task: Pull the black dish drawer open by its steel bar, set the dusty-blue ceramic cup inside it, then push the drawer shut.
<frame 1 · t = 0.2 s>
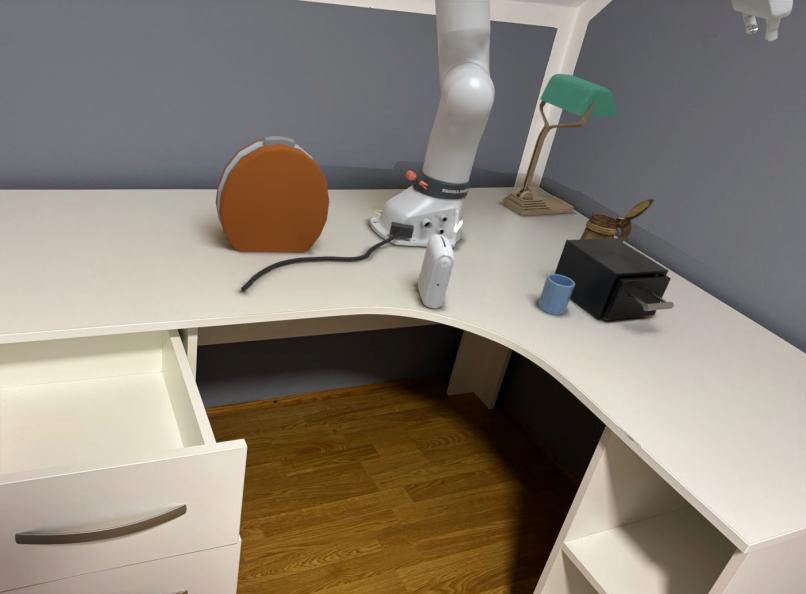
hand: (761, 36, 142), 54 cm above the table, tool tilted 30°, fingers open, 8 cm apart
cup: (551, 308, 144), on the table
photo printer: (428, 297, 140), on the table
wooden mug: (597, 263, 170), on the table
alarm clock: (267, 242, 149), on the table
banker's lamp: (538, 208, 199), on the table
drawer: (623, 288, 146), point 5 cm above the table, slide at 0.5 cm
dishwasher: (598, 298, 152), on the table
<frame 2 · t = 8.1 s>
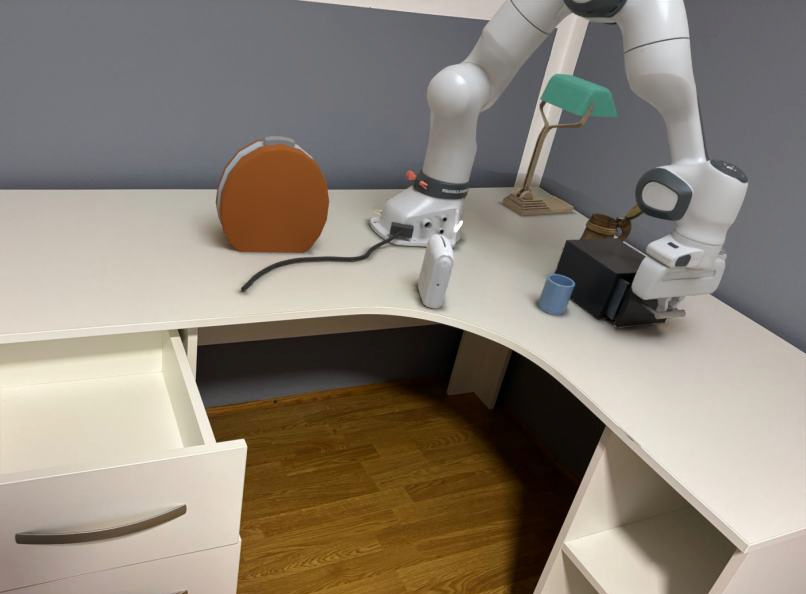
hand: (663, 313, 138), 6 cm above the table, tool pointing down, fingers closed, pressing on drawer
drawer: (634, 295, 144), point 5 cm above the table, slide at 3.6 cm, touching gripper
everything else where it was.
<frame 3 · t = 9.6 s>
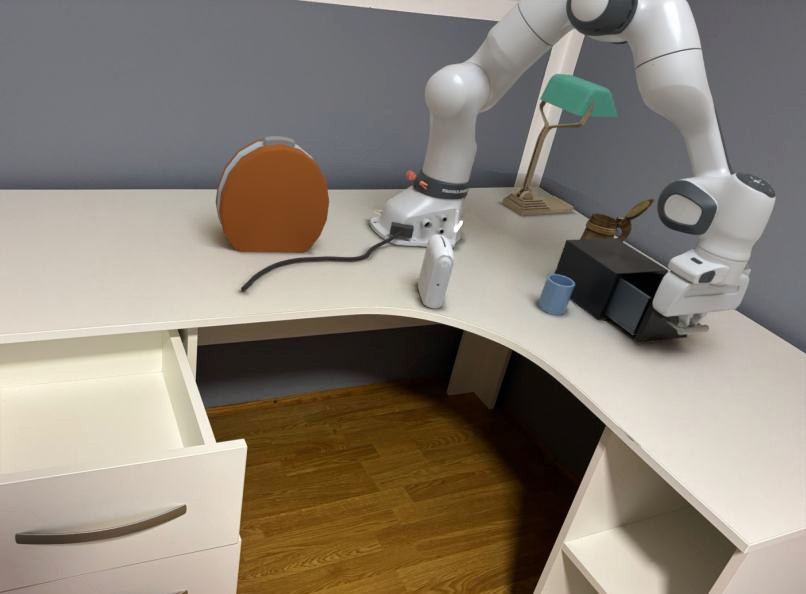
hand: (684, 330, 134), 5 cm above the table, tool pointing down, fingers closed
drawer: (654, 309, 139), point 5 cm above the table, slide at 9.4 cm
everything else where it was.
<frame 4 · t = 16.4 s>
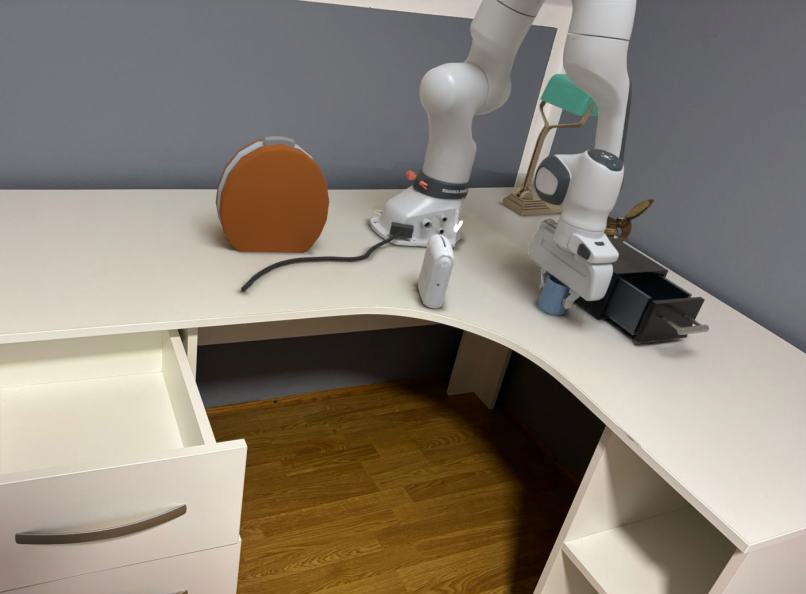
hand: (555, 298, 143), 2 cm above the table, tool pointing down, fingers closed on cup, 5 cm apart
cup: (551, 308, 144), on the table, touching gripper
everything else where it was.
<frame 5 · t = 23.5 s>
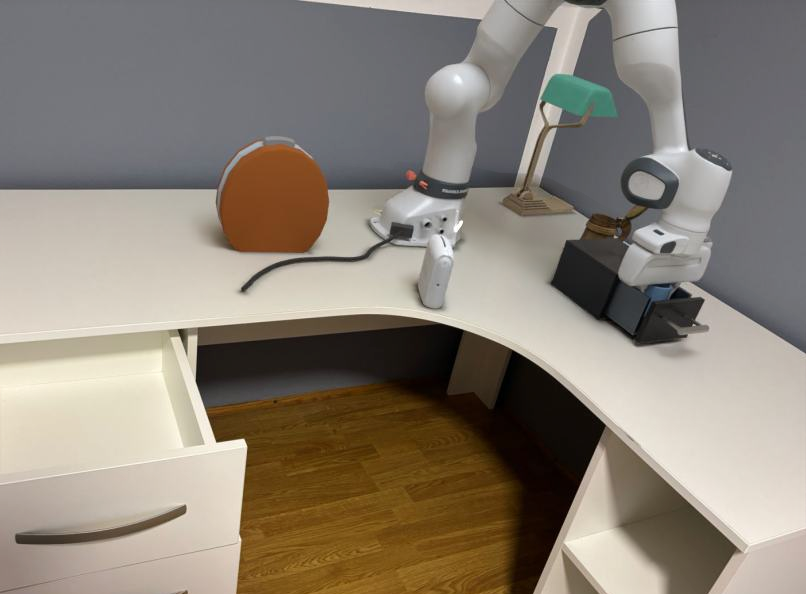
hand: (649, 300, 140), 6 cm above the table, tool pointing down, fingers closed on cup, 5 cm apart
cup: (645, 310, 141), point 4 cm above the table, touching gripper
everything else where it was.
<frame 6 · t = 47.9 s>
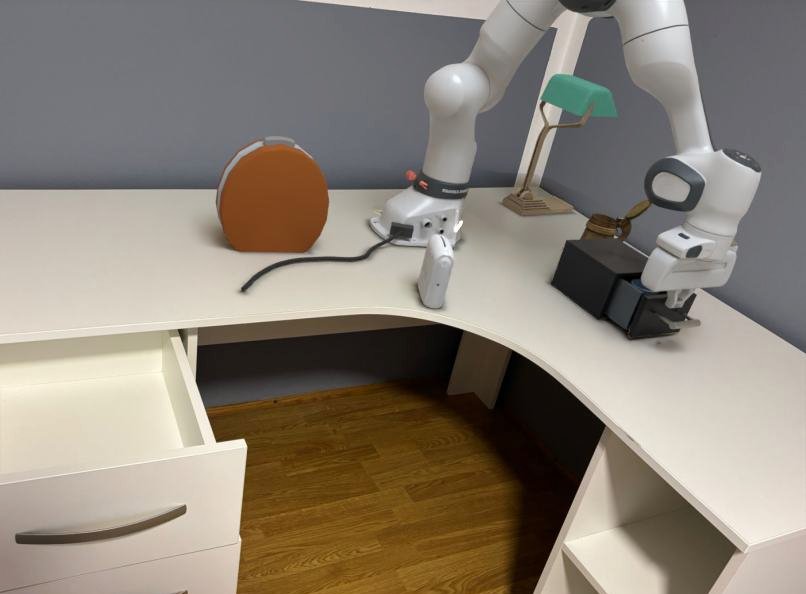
hand: (672, 306, 135), 8 cm above the table, tool pointing down, fingers closed, pressing on drawer
cup: (633, 313, 144), point 2 cm above the table, touching drawer
drawer: (647, 304, 141), point 5 cm above the table, slide at 7.4 cm, touching cup, gripper
everything else where it was.
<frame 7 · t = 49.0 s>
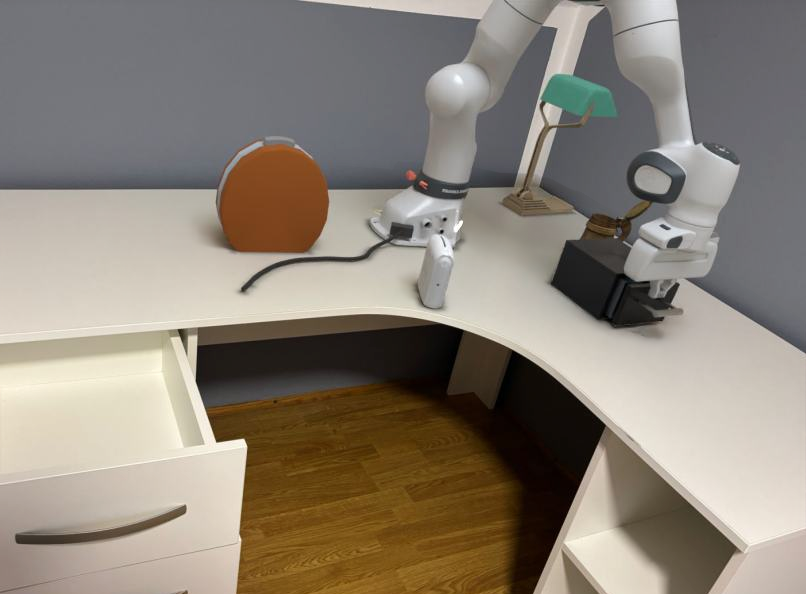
hand: (655, 296, 139), 8 cm above the table, tool pointing down, fingers closed, pressing on drawer
cup: (618, 302, 148), point 2 cm above the table, touching drawer
drawer: (632, 294, 144), point 5 cm above the table, slide at 3.0 cm, touching cup, gripper
everything else where it was.
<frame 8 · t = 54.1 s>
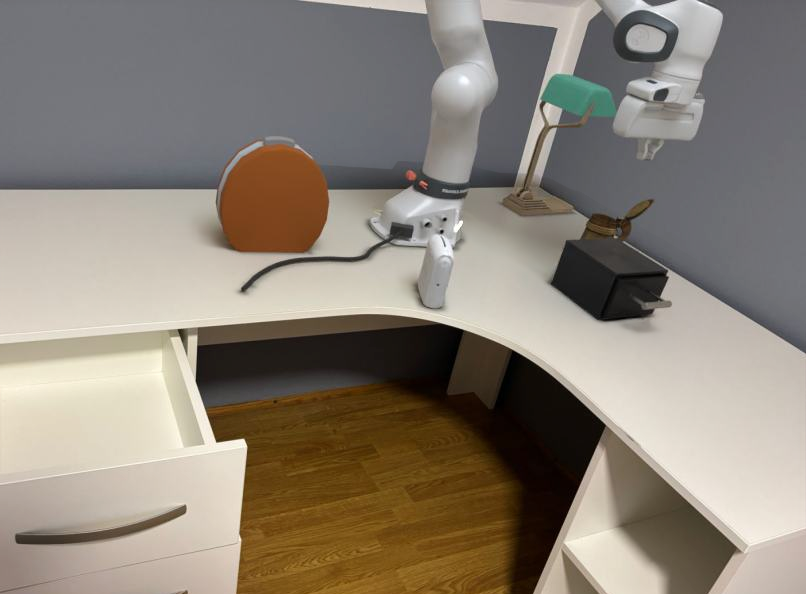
hand: (643, 159, 143), 29 cm above the table, tool pointing down, fingers closed
cup: (608, 295, 150), point 2 cm above the table, touching drawer
drawer: (622, 287, 146), point 5 cm above the table, slide at 0.0 cm, touching cup
everything else where it was.
at the end: drawer pulled out 9.8 cm at the most during the clip, back to where it started at the end; cup inside the target area in the dishwasher (2.2 cm from its centre), point 2.0 cm above the dishwasher's base; drawer slide at 0.0 cm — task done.
